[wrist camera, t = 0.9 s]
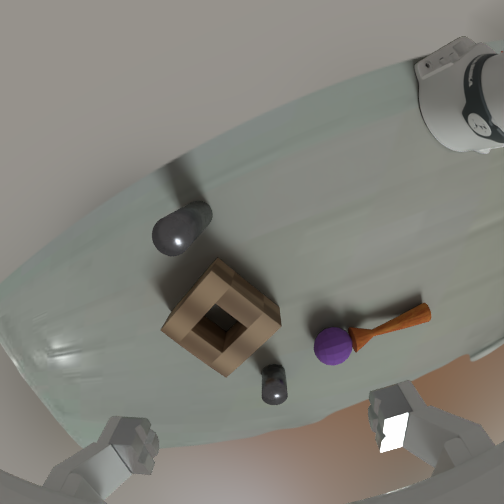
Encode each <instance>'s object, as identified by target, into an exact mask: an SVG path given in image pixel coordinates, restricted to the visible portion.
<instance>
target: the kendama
mask: <svg viewBox="0 0 504 504" xmlns="http://www.w3.org/2000/svg"><path fill="white" fill-rule="evenodd" d="M430 320H431V311H430V309H429V307H428V305H427V304H426V303H422V304H420V305H418V306H417V307H415V308H413V309H411V310H409V311H407V312H405V313H404V314H402V315H400V316H398V317H396V318H394V319H392V320H390V321H388V322H386V323H384V324H382V325H380V326H378V327H376V328H374V329H372V330H371V329H361V328H352V327H349V328H348V333H349V334H348V333H347V332H346V331H344V330H342V329H341V328H336V327H330V328H327V329H324V330H323V331H322V332H320V333H319V334H318V336H317V338H316V339H315V343H314V352H315V355H316V356H317V358H318V359H319V360H320V361H321V362H323V363H325V364H327V365H337V364H340V363H342V362H344V361H345V360H346V359H347V358H348V357H349V355H350V353H351V351H352V347H353V349H354V351H355V352H357V351H358V350H360V349H361V348H362V347H363V346H364V345H365V344H366V343H367V342H368V341H369V340H370V339H371V338H372V337H373V336H376V335H380V334H384V333H388V332H392V331H396V330H400V329H404V328H407V327H411V326H415V325H418V324H422V323H425V322H429V321H430Z"/></svg>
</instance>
